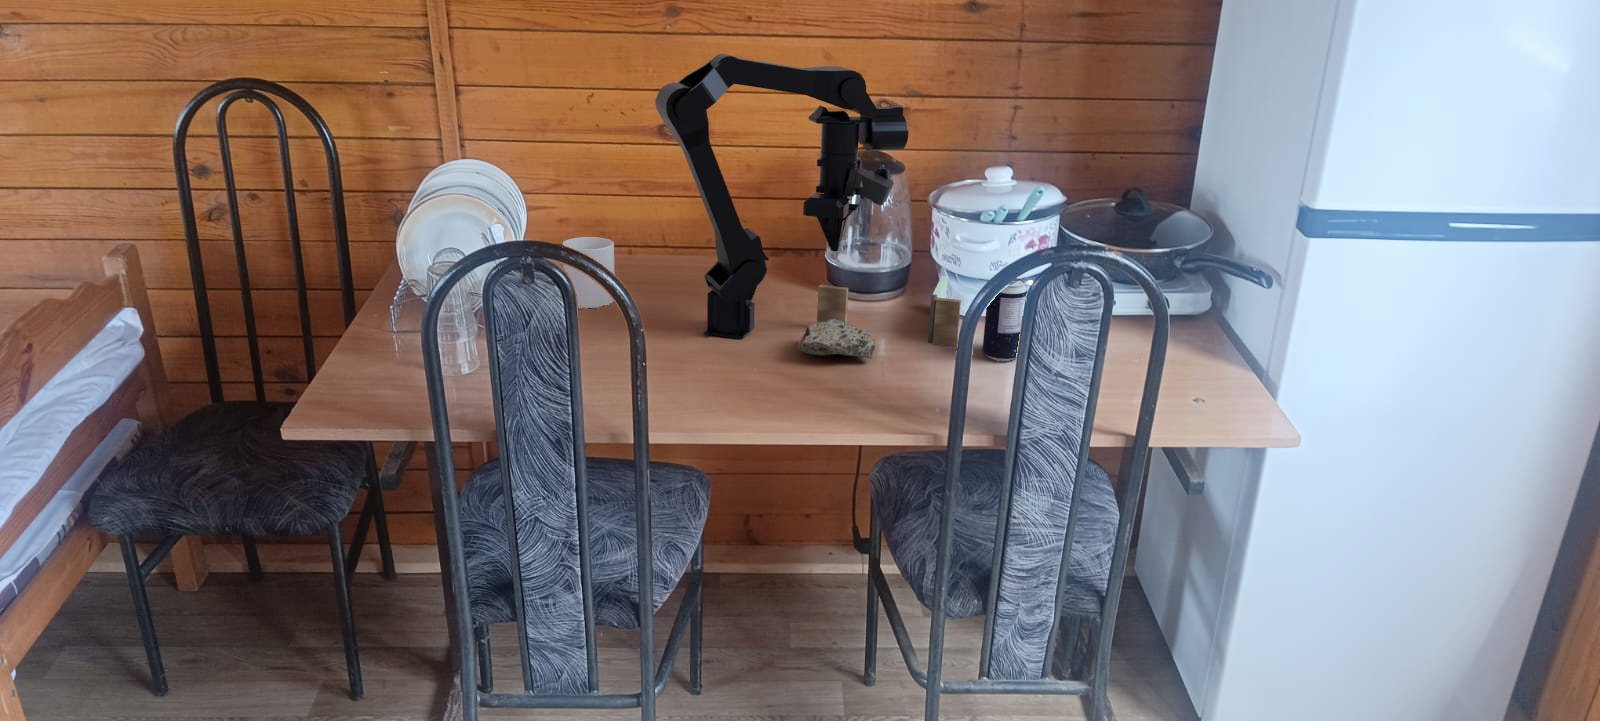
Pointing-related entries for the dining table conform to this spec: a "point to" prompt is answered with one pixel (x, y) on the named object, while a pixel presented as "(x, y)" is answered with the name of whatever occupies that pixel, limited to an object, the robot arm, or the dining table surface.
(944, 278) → the door
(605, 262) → the mug
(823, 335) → the rock
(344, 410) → the dining table surface
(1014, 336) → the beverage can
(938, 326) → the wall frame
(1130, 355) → the dining table surface
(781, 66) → the robot arm
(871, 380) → the dining table surface
